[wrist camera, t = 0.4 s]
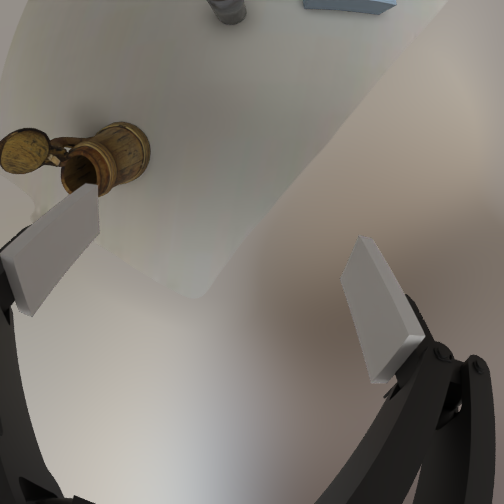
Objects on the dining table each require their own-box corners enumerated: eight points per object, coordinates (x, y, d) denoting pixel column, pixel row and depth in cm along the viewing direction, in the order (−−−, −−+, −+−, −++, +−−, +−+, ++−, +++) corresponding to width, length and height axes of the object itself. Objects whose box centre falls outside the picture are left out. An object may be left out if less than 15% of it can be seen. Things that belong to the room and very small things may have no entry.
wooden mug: (97, 91, 32) (7, 108, 16) (162, 148, 37) (96, 195, 21) (67, 139, 35) (-17, 178, 20) (127, 193, 40) (60, 258, 25)
